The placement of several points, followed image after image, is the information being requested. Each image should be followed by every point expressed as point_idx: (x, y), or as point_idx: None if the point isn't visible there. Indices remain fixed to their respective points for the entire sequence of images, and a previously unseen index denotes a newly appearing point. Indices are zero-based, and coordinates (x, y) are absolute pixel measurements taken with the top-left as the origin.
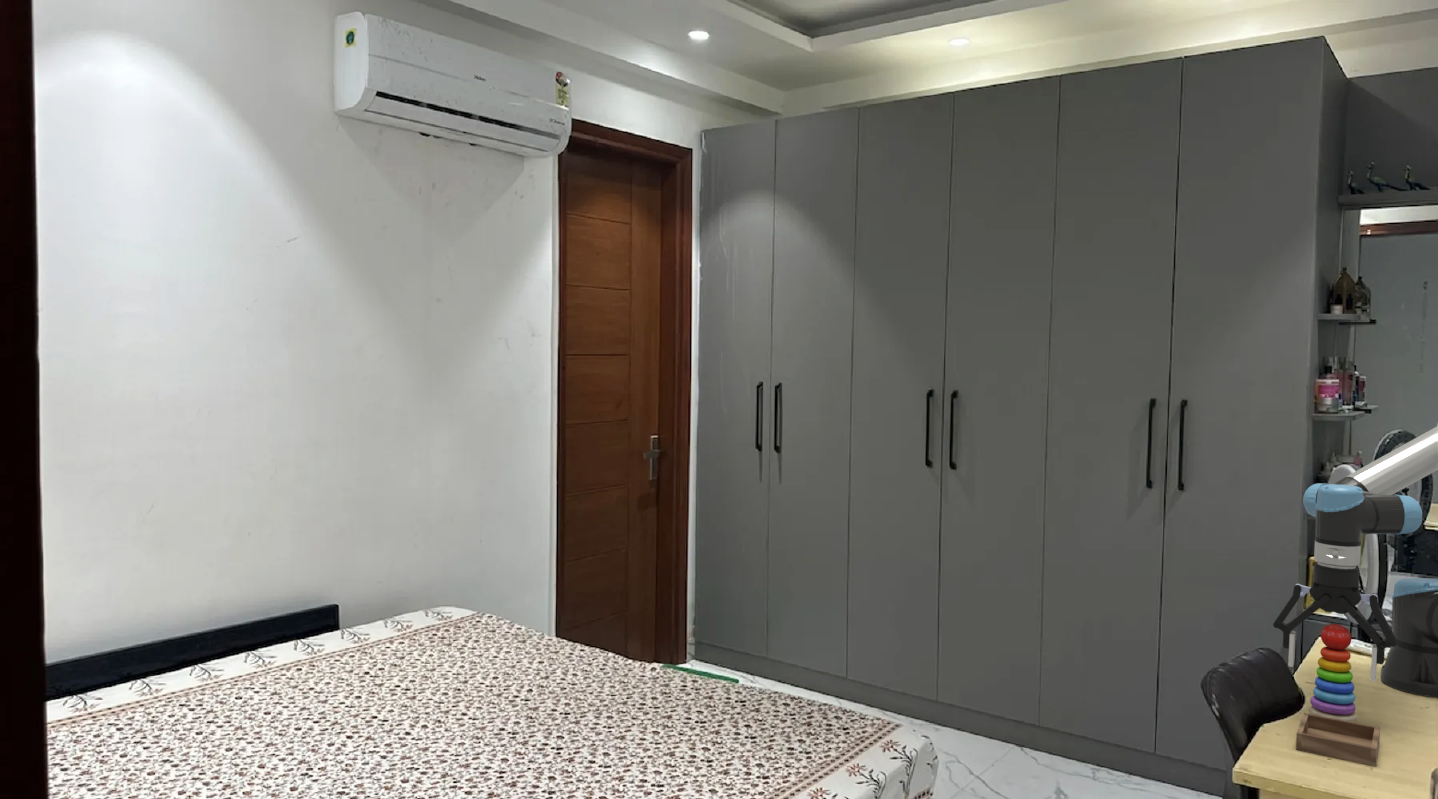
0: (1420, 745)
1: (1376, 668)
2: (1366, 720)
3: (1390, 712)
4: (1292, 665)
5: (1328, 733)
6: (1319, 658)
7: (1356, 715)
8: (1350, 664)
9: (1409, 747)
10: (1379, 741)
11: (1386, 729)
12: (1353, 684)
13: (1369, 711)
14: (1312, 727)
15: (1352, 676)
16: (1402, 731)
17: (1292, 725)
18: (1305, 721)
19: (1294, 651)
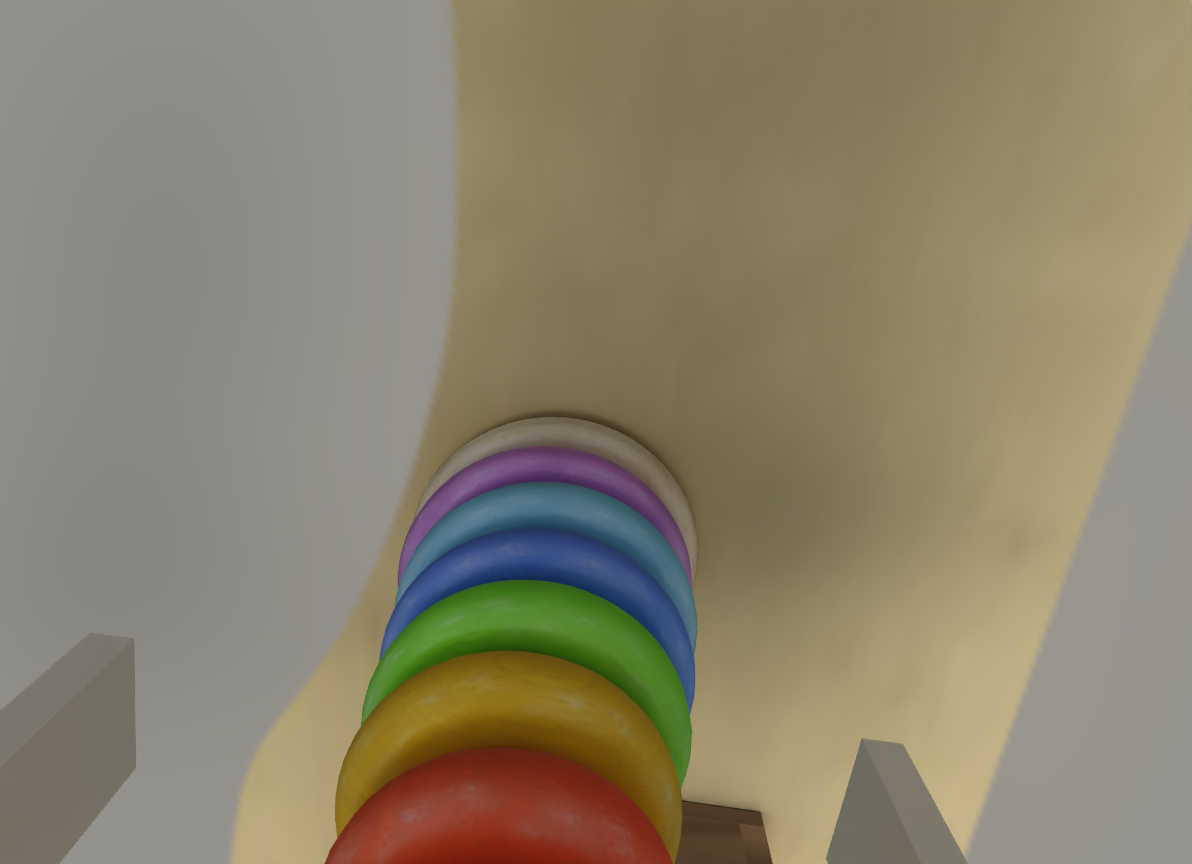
0: (972, 751)
1: (945, 829)
2: (759, 464)
3: (964, 204)
4: (124, 779)
5: None
6: (342, 817)
7: (692, 575)
8: (673, 858)
9: None
10: (762, 824)
11: (848, 578)
12: (690, 695)
13: (816, 255)
14: None
15: (683, 780)
16: (937, 572)
17: (336, 739)
18: None
19: (32, 767)
